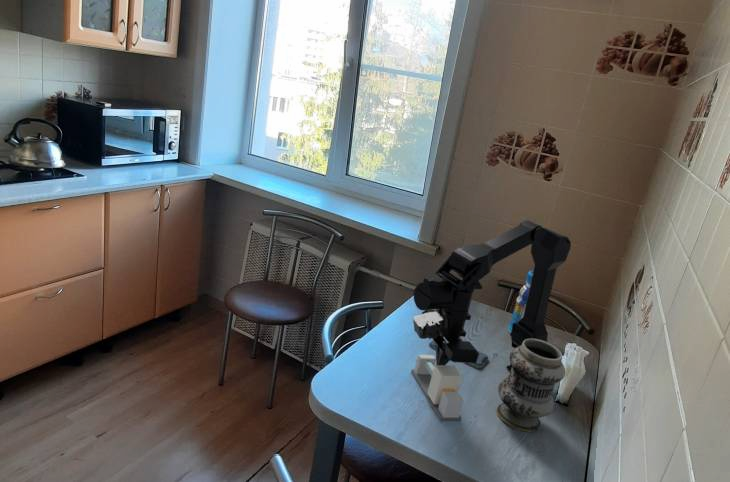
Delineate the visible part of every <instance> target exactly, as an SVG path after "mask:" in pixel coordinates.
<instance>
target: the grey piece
mask: <svg viewBox="0 0 730 482" xmlns="http://www.w3.org/2000/svg"><path fill="white" fill-rule="evenodd" d="M435 365H436V355H434V354H418V355H417V359H416V364H415V366H414V369H411V372H410V373H411V375H412V376H413V378H414V380H415V382H416V383H417V384H418V387H419V389H420V390H421V392H422V393H423V395H424V397H425V398H426V400H427V402H428V404H429V406H430V407H431V409H432V410H433V413H434V414H435V416H436V417H437V419H438V421H439V422H443V421H444V422H445V421H446V422H449V421H450V422H453V421H455V422H456V421H458V422H459V421H462V416H461V414H460V413H461V411H462V407H463V404H464V398H463V397H462V395H461V394H460V393H459V391H458V392H456V391H455V389H453V388H443V391H442V395H441V398H440V399H441V400H440V403H439V404H433V402H432V400H431V399H430V397H429V395H428V394H427V392H428V388H429V385H430V381H431V377H432V374H433V370H434V366H435Z"/></svg>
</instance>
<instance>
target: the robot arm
mask: <svg viewBox="0 0 730 482" xmlns="http://www.w3.org/2000/svg"><path fill="white" fill-rule="evenodd" d="M530 245H531V248H530V254H531V257H532V261H533V264H534V268H533V270H532V271H533V275H532V280H531V284H530V289H529V293H528V298H527V303H526V307H525V312H524V316H523V318H521V319H520V320H519V321H518V322H515V323H513V325H512V331H511V333H509V336H510V340H511V347H512V348H513V349H515V348H516V347H519V346H521V345H522V343H523V341H524V340H526V339H539V340H542V341H545V342H547V343H548V335H549V334H548V330H547V327H546V324H545V319H546V314H547V310H548V306H549V301H550V297H551V295H552V289H553V285H554V281H555V278H556V277H555V276H556V273H557V269H558V268H559V267H560V266H562V265H563V264H564V263H565V262H566V261H567V258H568V256H569V253H570V251H571V246H572V241H571V240H570V239H569V237H568V236H566V235H564V234H561V233H559V232H557V231H554V230H552V229H550V228H548V227H543V226H542V225H541V224H537V223H536V222H533V221H531V220H528V219H527V220H523V221H521V222H520V223H519V224H518V225H517V226H515V227H513V228H511V229H510V230H507V231H505V232H504V233H501V234H499V235H498V236H496V237H494V238H492V239H490V240H488V241H485V242H483V243H481V244H468V245H465V246H461V247H458V248H456V249H455V250H453V251H452V252H451V254H450V256H448V258H447V259H446V260H445V262H443V263H442V264H441V266H440V267H439V268H438V269H437V270H436V272H435V275H436V276H437V277H428V276H427V277H424V278H423V281H422V282H420V283H418V284H417V285H416V286H415V288H414V290H413V301H414V304H415V307H416V308H417V309H419V310H420V311H422V312H421V314H418V315H415V316H413V317H412V321H413V328H414V332H415V333H416V335H417V336H418V338H419V339H422V340H424V339H429V340H430V339H431V340H432V341H433V340H434V341H435V347H436V350H435V358H436V361H435V365H447V364H448V363H449V362H452V363H464V362H465V363H464V364H467V363H476V362H477V359H478V356H479V353H478V351H479V350H477V349H476V347H474V345H473V344H472V343H471V342H470V341H465V340H464V339H463V338H466V335H467V331H466V330H465V329H464V328H465V324H466V321H470V320H471V318H472V315H471V314H470V313H469V310H470V307H471V303H472V299H473V296H474V292H475V291H476V290H482V289H483V285H482V284H481V283H480V280H482V279H483V278H485V276H487V275H488V274H490V272H491V270H492V268H493V266H494V265H496V263H499V262H501V261H502V260H505V258H508V257H509V256H512V255H514V254H515V253H518V252H519V251H521V250H523V249H524V248H527V247H528V246H530ZM451 272H452V273H454V274H455V275H456V276H455V275H454V274H452V273H451ZM457 276H458V277H460V278H458V277H457ZM462 337H463V338H462ZM506 369H507V371H509V373H510V372H511V369H512V365H511V363H510V364H509V365H506Z"/></svg>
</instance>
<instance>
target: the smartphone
mask: <svg viewBox="0 0 730 482" xmlns="http://www.w3.org/2000/svg"><path fill="white" fill-rule="evenodd" d="M428 346H429V348H431V349H433V350H435V351H436V347H435V341H434V340H433V339H432V341H430V342H429V345H428ZM477 351H478V353H479V356H478V359H477V362H476V363H465V362H463V363H464V364H466V365H469V366H472V367H474V368H476V369H481V368H482V367H483V366H484V365H485V364H486V363H487V361H489V355H487V354H486V353H483V352H481V351H479V350H477Z"/></svg>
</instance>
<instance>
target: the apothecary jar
mask: <svg viewBox="0 0 730 482" xmlns="http://www.w3.org/2000/svg"><path fill="white" fill-rule="evenodd" d="M562 359H563V354H562V352H561V350H560V349H559V348H557V347H556V346H554V345H553V344H551V343H549V342H548V341H547V342H545V341H542V340H539V339H526V340H524V341H523V343H522V345H521V346H519V347H516V348H513V349H512V350H511V351H510V353H509V361H510V363H511V365H512V369H511V372H510V371H509V374H508V377H505V378H503V380H501V382H500V383H499V385H498V390H497V391H498V395H499V398H500V400H501V402H502V403H500V404H499V405H498V406H497V408H496V413H497V416H498V417H499V419H500V420H501V421H502V422H503V423H505V424H506V425H507V426H510V427H511V428H512V429H515V430H517V431H520V432H526V433H531V432H533V431H539V430H540V428H541V426H542V424H541V420H540V418H543V417H547V416H548V415H550V414H551V412H552V411H553V409H554V404H555V403H554V399H553V396H552V394H553V390H554V387H555V385H556V384H557V383H560V382H562V380H563V379H564V377H565V376H566V368H565V365H564V364H563V361H562Z"/></svg>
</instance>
